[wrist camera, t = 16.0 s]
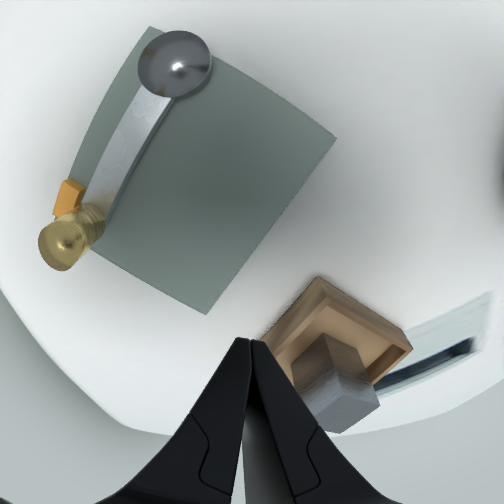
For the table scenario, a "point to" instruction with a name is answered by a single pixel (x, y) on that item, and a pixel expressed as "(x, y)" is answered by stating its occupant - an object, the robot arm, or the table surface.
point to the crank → (129, 142)
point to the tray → (336, 330)
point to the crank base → (198, 179)
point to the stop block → (334, 384)
